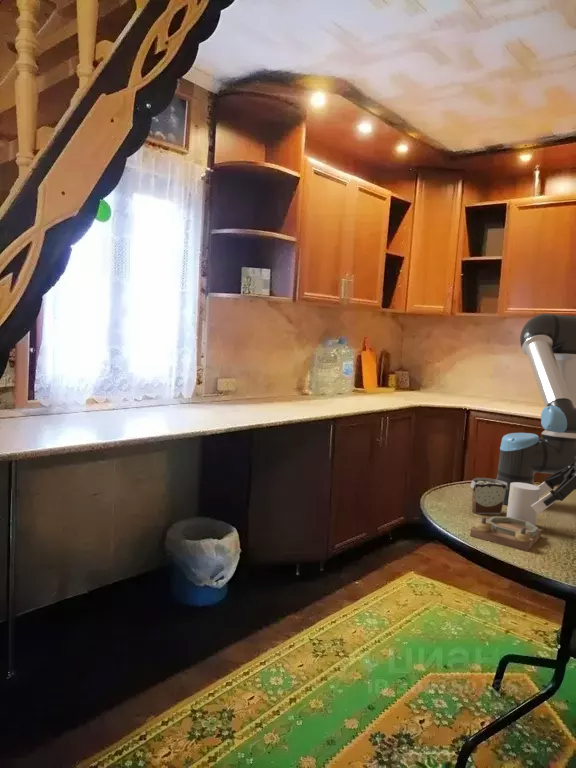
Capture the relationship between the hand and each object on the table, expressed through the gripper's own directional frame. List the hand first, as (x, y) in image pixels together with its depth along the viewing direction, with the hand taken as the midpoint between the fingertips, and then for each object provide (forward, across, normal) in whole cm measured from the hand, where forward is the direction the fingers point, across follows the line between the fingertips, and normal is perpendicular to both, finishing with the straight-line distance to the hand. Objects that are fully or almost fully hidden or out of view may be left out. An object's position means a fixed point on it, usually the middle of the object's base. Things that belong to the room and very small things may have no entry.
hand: (531, 503), depth 171 cm
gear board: (+10, -12, 0) cm, 16 cm away
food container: (+14, +11, +4) cm, 19 cm away
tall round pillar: (+7, +2, -4) cm, 8 cm away
